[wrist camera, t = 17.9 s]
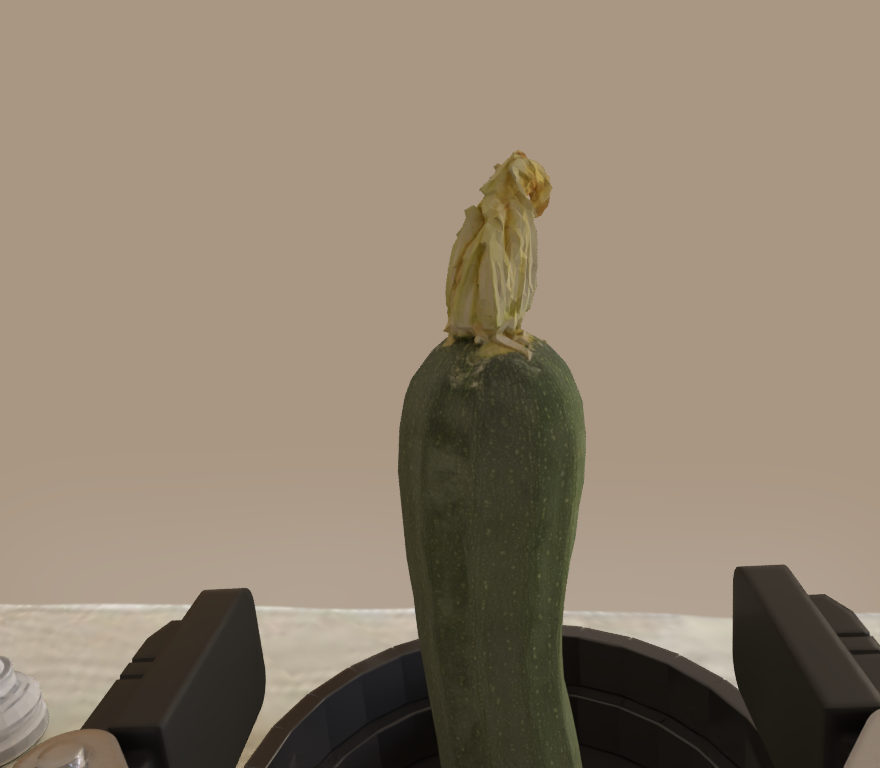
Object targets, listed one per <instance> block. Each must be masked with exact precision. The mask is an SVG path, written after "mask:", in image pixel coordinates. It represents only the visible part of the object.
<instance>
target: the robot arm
mask: <svg viewBox="0 0 880 768" xmlns="http://www.w3.org/2000/svg"><path fill="white" fill-rule="evenodd" d="M733 664H734V671H735V676H736V681H737V685H738V688H739V691H740V694H741V696H742V698H743V700H744V703H745V705H746V707H747V709H748V711H749V713H750V716H751V718H752V720H753V722H754V724H755V726H756V729H757V731H758V733H759V735H760V737H761V739H762V742H763V744H764V746H765V748H766V750H767V752H768V755H769V757H770V759H771V761H772V763H773V765H774V768H880V645H879V644H878V642H877V641H876V640H875V639H874V637H873V636H870V634H869V631H868V630H867V629H866V627H865V626H864V625H863V624H862V622H861V621H860V620H859V619H858V617H857V616H856V615H855V614H854V612H853V611H851V610H850V609H848V608H846V607H845V606H843V605H841V604H840V603H838V602H837V601H835V600H833V599H832V598H830V597H828V596H827V595H825V594H819V595H808V594H807V593H806V592H805V590H804V589H803V587H802V586H801V585H800V583H799V582H798V580H797V579H796V578H795V576H794V575H793V574H792V572H791V571H790V570H789V568H788V567H787V566H786V565H765V566H744V567H743V566H742V567H736V569H735V571H734V577H733ZM265 683H266V675H265V665H264V659H263V653H262V647H261V641H260V635H259V629H258V623H257V617H256V611H255V605H254V600H253V596H252V594H251V592H250V590H249V589H247V588H238V589H216V590H204V591H202V592H201V593H200V595H199V596H198V598H197V599H196V600H195V602H194V603H193V605H192V606H191V608H190V609H189V610H188V612H187V613H186V615H185V616H184V618H183V619H182V620H176V621H171V622H169V623H168V624H167V625H165V626H164V627H162V628H161V629H160V630H158V631H157V632H156V633H154V634H153V635H151V636H150V637H149V638H147V640H146V641H145V642H144V644H143V645H142V646H141V648H140V649H139V650H138V652H137V653H136V654H135V656H134V657H133V658H132V663H129V664H128V665H127V667H126V668H125V669H124V671H123V672H122V673H121V675H120V680H116V682H115V683H114V684H113V686H112V687H111V688H110V690H109V691H108V692H107V694H106V695H105V696H104V698H103V699H102V701H101V702H100V703H99V705H98V706H97V707H96V709H95V710H94V711H93V713H92V714H91V715H90V717H89V718H88V720H87V721H86V722H85V724H84V725H83V726H82V728H81V729H80V730H75V731H71V732H67V733H64V734H61V735H58V736H55V737H53V738H51V739H49V740H47V741H45V742H43V743H41V744H39V745H37V746H36V747H34V748H33V749H31V750H30V751H28V752H27V753H26V754H25V755H24V756H22V757H21V758H20V759H19V760H18V761H17V762H16V763H15V764H14V766H13V767H12V768H236V765H237V763H238V761H239V758H240V756H241V754H242V751H243V749H244V747H245V744H246V742H247V740H248V738H249V735H250V733H251V731H252V728H253V726H254V724H255V721H256V719H257V717H258V714H259V712H260V710H261V707H262V704H263V700H264V694H265Z"/></svg>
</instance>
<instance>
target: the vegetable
mask: <svg viewBox="0 0 880 768" xmlns="http://www.w3.org/2000/svg"><path fill="white" fill-rule="evenodd" d="M494 168H495V170H496V171H495V174H494V175H493V176H491V177H490V179H489V180H488V181H487V182H486V183H485V184H484V185H483V187H481V188H480V191H481V192H482V193H483V194H484V195H485V196H484V198H483V200H482V201H481V202H480V203H479V205H478V206H477V207H475V206H471V207H469V208H468V209H466V210H465V215H466V219H465V222H464V224H463V227H462V228H461V229H460V231H459V232H458V233H457V240H456V241H455V243H454V245H453V248H452V252H451V257H450V262H449V268H448V274H447V282H446V305H447V307H448V312H447V313H448V323H447V326H446V327H445V329H444V331H445V332H448V333H449V335H448V337H447V338H446V339H445V340H444V341H442V342H441V343H440V344H439V345H438V346H437V347H436V348H434V349H433V350H432V351H431V353H430V354H429V356H428V357H427V358H426V360H425V361H424V362H423V364H422V365H421V366H420V368H419V369H418V371H417V372H416V373H415V375H414V376H413V377H412V379H411V381H410V384H409V387H408V389H407V392H406V395H405V399H404V405H403V410H402V416H401V422H400V430H399V459H398V475H399V486H400V496H401V506H402V516H403V525H404V536H405V545H406V555H407V562H408V567H409V574H410V580H411V585H412V590H413V595H414V604H415V613H416V621H417V629H418V636H419V644H420V649H421V655H422V660H423V665H424V671H425V676H426V682H427V688H428V694H429V699H430V705H431V710H432V715H433V720H434V726H435V731H436V736H437V743H438V750H439V757H440V764H441V768H582V762H581V757H580V751H579V745H578V740H577V735H576V730H575V725H574V720H573V715H572V710H571V706H570V701H569V697H568V693H567V689H566V685H565V681H564V673H563V658H562V623H563V610H564V599H565V591H566V584H567V578H568V571H569V565H570V559H571V554H572V550H573V546H574V541H575V536H576V527H577V518H578V510H579V504H580V499H581V494H582V489H583V483H584V468H585V453H586V432H585V423H584V412H583V402H582V399H581V396H580V393H579V391H578V389H577V386H576V383H575V381H574V378H573V376H572V374H571V371H570V369H569V367H568V366H567V364H566V363H565V362H564V360H563V359H562V358H561V357H560V356H559V355H558V354H557V353H556V352H555V351H554V350H553V349H552V348H551V347H550V346H549V345H548V344H547V342H546V341H545V340H541V339H539V338H537V337H535V336H533V335H531V334H529V333H527V332H525V331H524V330H521V323H522V320H523V317H524V315H525V313H526V312H527V311H528V310H529V309H530V307H531V303H532V300H533V297H534V293H535V290H536V287H537V278H536V273H537V230H536V228H535V225H534V222H533V221H534V218H537V217H539V216H541V215H542V213H543V212H544V210H545V208H547V206H548V203H549V198H550V191H551V189H552V186H551V184H550V182H549V176H548V175H547V174H546V172H545V170H544V168H543V166H541V165H540V164H539V163H538V162H537V161H533V160H530V159H528V158H527V157H526V155H525V154H524V153H523V152H521V151H519V150H517V151H516V152H514V153H513V154H512V155H511V156H510V158H508V159H507V160H506V161H505V162H504V163H503V164H502V165H500V164H496V165H495V166H494ZM527 195H529V196H530V200H529V199H528V197H527Z"/></svg>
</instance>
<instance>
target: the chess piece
mask: <svg viewBox="0 0 880 768" xmlns="http://www.w3.org/2000/svg"><path fill="white" fill-rule="evenodd" d="M48 721H49V715H48V710H47V706H46V702H45V700H44V699H43V698H42V693H41V688H40V684H39V683H38V682H37V681H36V680H35V679H34V678H32V677H31V676H29V675H27V674H24V673H21V672H17V671H14V669H13V664H12V661H11V660H10V659H9V658H7V657H4V656H0V767H1V766H3V765H5V764H7V763H9V762H10V761H12V760H14V759H16V758H17V757H18V756H20V755H21V754H23V753H24V752H25V751H27V750H28V749H29V748H30V747H31V746H33V745H34V744H35V743H36V741H37V740H38V739H39V738H40V737H41V735H42V734H43V732H44V731H45V729H46V728H47V725H48Z"/></svg>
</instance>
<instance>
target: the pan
mask: <svg viewBox="0 0 880 768" xmlns="http://www.w3.org/2000/svg"><path fill="white" fill-rule="evenodd" d="M562 658H563V673H564V681H565V685H566V689H567V693H568V697H569V701H570V706H571V710H572V715H573V720H574V725H575V730H576V735H577V740H578V745H579V751H580V757H581V762H582V768H774V765H773V763H772V761H771V759H770V757H769V755H768V752H767V750H766V748H765V746H764V744H763V742H762V739H761V737H760V735H759V733H758V731H757V729H756V726H755V724H754V722H753V720H752V718H751V716H750V713H749V711H748V709H747V707H746V705H745V703H744V700H743V698H742V696H741V694H740V691H739V690H738V689H737V688H736V687H734V686H733V685H732V684H731V683H729V682H728V681H727V680H724V679H723V678H722V677H720V676H718V675H716V674H714V673H712V672H711V671H709V670H707V669H705V668H703V667H701V666H699V665H698V664H696V663H694V662H692V661H690V660H688V659H687V658H685V657H683V656H679V654H677V653H674V652H671V651H669V650H666V649H663V648H660V647H658V646H655V645H652V644H649V643H646V642H644V641H641V640H638V639H635V638H630V637H627V636H622V635H618V634H613V633H608V632H604V631H599V630H594V629H590V628H583V627H578V626H566V625H562ZM244 768H441V764H440V757H439V750H438V743H437V736H436V731H435V726H434V720H433V715H432V710H431V705H430V699H429V694H428V688H427V682H426V676H425V671H424V665H423V660H422V655H421V649H420V644H419V639H417V640H414V641H410V642H407V643H404V644H400V645H397V646H394V647H393V648H389V649H387V650H385V651H383V652H381V653H378V654H376V655H374V656H372V657H370V658H368V659H365V660H363V661H361V662H359V663H357V664H355V665H352V666H351V667H350V668H347V669H345V670H344V671H342V672H340V673H339V674H337V675H336V676H334V677H333V678H331V679H330V680H328V681H327V682H325V683H324V684H322V685H321V686H319V687H318V688H316V689H315V690H313V691H312V692H310V693H309V694H307V695H306V696H305V697H304V698H303V699H302V700H301V701H300V702H298V703H297V704H296V705H295V706H294V707H293V708H292V709H291V710H290V711H289V712H288V713H287V714H286V715H285V716H284V717H282V718H281V719H280V720H279V721H278V722H277V723H276V724H275V725H274V726H273V727H272V728H271V730H270V731H269V732H268V734H267V735H266V737H265V738H264V739H263V741H262V742H261V743H260V745H259V746H258V748H257V749H256V750H255V752H254V753H253V755H252V756H251V757H250V759H249V760H248V762H247V763H246V764H245V766H244Z"/></svg>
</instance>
